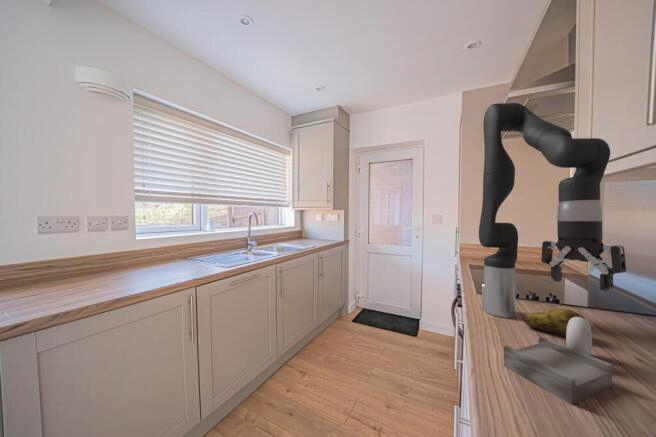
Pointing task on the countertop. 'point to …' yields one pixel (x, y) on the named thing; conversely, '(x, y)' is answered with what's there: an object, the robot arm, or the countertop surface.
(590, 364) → the base
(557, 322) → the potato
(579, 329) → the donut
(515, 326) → the countertop surface
